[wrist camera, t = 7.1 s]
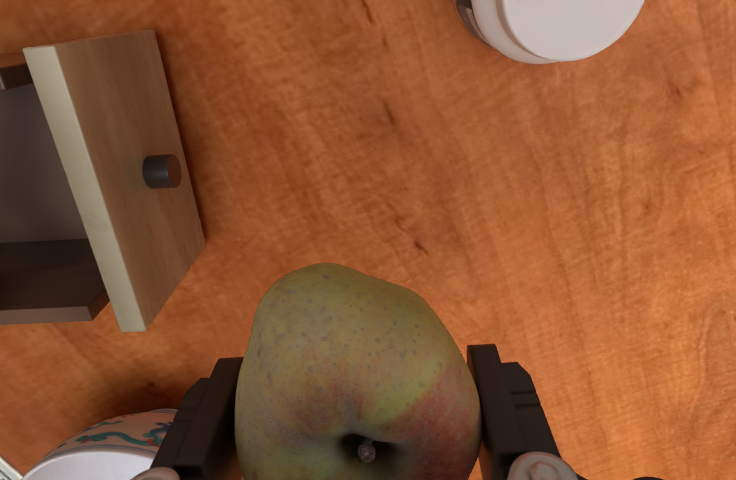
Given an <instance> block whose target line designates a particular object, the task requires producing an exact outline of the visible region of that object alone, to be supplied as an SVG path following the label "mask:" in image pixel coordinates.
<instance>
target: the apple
mask: <svg viewBox="0 0 736 480" xmlns="http://www.w3.org/2000/svg"><path fill="white" fill-rule="evenodd" d="M234 425H235V426H234V427H235V442H236V449H237V455H238V460H239V464H240V468H241V471H242V474H243V477H244V479H245V480H468V478H469V475H470V473H471V471H472V469H473V467H474V465H475V463H476V460H477V458H478V456H479V453H480V449H481V444H482V438H483V418H482V409H481V403H480V399H479V395H478V391H477V388H476V385H475V383H474V380H473V377H472V374H471V372H470V370H469V368H468V366H467V364H466V362H465V360H464V358H463V356H462V354H461V352H460V350H459V348H458V346H457V345H456V343H455V341H454V339H453V338H452V336H451V334H450V333H449V331H448V330H447V328H446V327H445V326H444V324H443V323H442V321H441V320H440V319H439V317H438V316H437V315H436V313H435V312H434V311H433V309H432V308H431V307H430V306H429V304H428V303H427V302H426V301H425V300H424V299H423V298H422V297H421V296H419V295H418V294H417V293H415V292H414V291H412V290H410V289H408V288H405V287H403V286H399V285H396V284H393V283H390V282H387V281H384V280H381V279H378V278H376V277H372V276H369V275H366V274H364V273H361V272H359V271H357V270H355V269H352V268H349V267H346V266H343V265H339V264H333V263H320V264H313V265H309V266H306V267H303V268H300V269H298V270H295V271H293V272H291V273H289V274H287V275H285V276H284V277H282V278H281V279H279V280H278V281H277V282H276V283H274V284H273V285H272V286H271V287H270V288H269V290H268V291H267V292H266V293H265V295H264V296H263V298H262V299H261V301H260V303H259V305H258V307H257V310H256V313H255V316H254V320H253V326H252V331H251V336H250V339H249V343H248V346H247V349H246V352H245V355H244V359H243V362H242V365H241V369H240V372H239V377H238V384H237V390H236V401H235V424H234Z"/></svg>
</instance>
